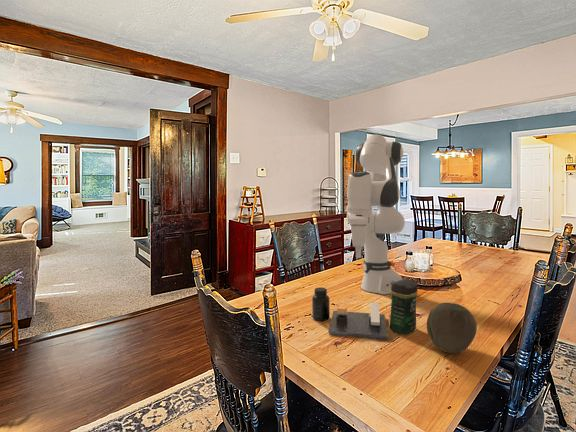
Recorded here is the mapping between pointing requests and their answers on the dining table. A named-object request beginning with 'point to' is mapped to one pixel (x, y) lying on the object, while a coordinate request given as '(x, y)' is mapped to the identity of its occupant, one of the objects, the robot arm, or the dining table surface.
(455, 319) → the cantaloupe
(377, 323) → the paddle
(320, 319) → the supplement bottle
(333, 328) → the panel
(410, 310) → the coffee jar
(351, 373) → the dining table surface
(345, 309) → the paddle
